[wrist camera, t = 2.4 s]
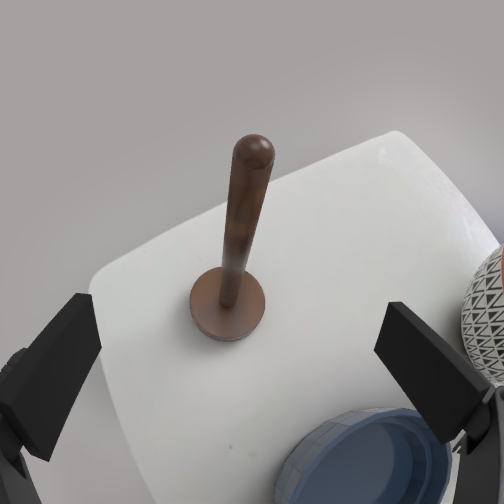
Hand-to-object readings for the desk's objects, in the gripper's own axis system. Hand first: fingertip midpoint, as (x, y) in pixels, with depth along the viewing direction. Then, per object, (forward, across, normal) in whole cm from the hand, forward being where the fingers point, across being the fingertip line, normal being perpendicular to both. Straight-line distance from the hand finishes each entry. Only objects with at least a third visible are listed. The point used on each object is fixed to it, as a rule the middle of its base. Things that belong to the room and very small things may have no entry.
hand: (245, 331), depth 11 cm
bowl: (+1, +13, -21) cm, 25 cm away
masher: (+15, 0, -7) cm, 17 cm away
